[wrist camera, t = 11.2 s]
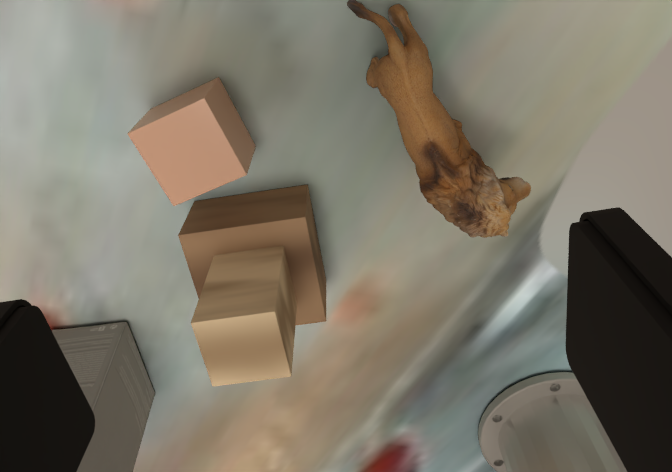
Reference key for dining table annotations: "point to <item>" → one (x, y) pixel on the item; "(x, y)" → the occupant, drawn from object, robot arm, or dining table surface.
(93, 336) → the skincare box
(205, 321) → the oak block
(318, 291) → the walnut block
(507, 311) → the dining table surface
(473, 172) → the lion figurine
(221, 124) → the terracotta cube
